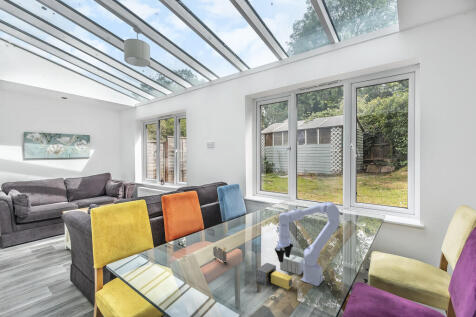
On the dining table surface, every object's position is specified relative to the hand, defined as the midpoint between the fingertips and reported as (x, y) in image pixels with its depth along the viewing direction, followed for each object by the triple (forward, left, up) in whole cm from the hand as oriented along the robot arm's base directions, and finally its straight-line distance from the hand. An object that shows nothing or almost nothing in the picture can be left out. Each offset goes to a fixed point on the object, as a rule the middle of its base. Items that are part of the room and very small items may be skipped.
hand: (284, 259), depth 124 cm
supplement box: (+7, -10, -6) cm, 14 cm away
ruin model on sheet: (+44, +7, -11) cm, 45 cm away
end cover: (-3, +8, -9) cm, 13 cm away
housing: (+7, +8, -10) cm, 14 cm away
